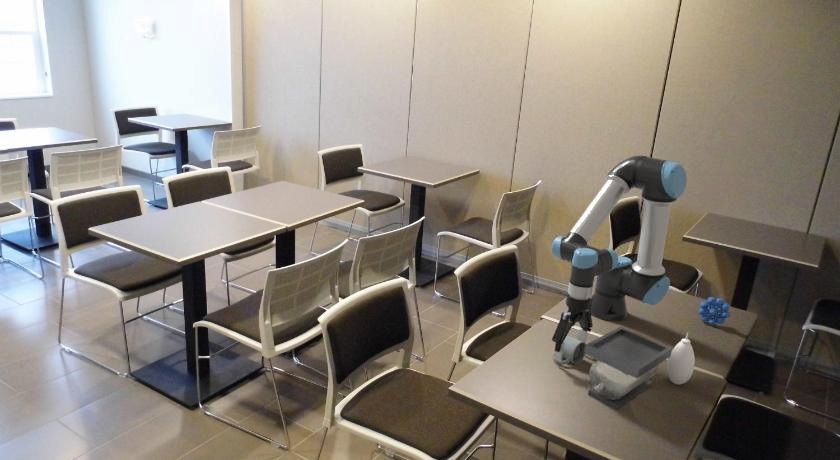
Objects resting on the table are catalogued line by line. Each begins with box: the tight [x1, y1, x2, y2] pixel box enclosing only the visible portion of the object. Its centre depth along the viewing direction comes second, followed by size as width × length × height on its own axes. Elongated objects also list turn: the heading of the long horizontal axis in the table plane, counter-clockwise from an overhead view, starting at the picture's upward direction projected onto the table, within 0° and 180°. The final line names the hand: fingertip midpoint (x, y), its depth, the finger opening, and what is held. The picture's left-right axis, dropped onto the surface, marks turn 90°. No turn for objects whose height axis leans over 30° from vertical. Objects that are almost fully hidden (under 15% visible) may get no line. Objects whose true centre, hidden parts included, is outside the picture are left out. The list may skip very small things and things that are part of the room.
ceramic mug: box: [552, 335, 586, 366], centre depth 202 cm, size 11×8×8 cm
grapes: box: [697, 296, 731, 326], centre depth 234 cm, size 12×7×12 cm, turn 43°
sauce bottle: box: [666, 332, 696, 385], centre depth 190 cm, size 8×8×18 cm
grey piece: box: [584, 326, 673, 411], centre depth 185 cm, size 21×17×15 cm
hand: (569, 353), depth 202 cm, fingers open, 13 cm apart
